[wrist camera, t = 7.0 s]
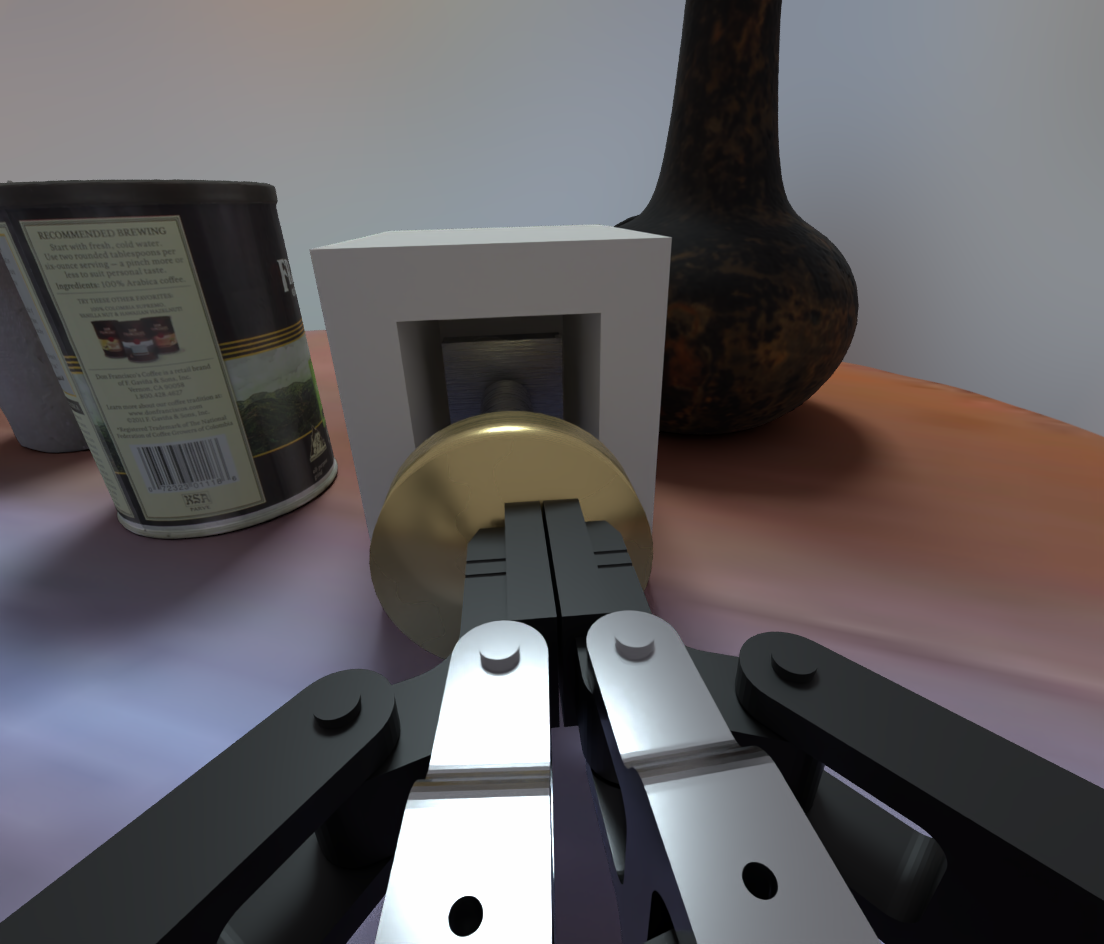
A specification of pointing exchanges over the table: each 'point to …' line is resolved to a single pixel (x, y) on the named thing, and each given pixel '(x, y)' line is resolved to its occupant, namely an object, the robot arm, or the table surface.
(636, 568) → the plunger
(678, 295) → the antique onion bottle
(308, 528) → the table surface
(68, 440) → the pillar candle
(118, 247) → the coffee can
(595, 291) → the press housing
